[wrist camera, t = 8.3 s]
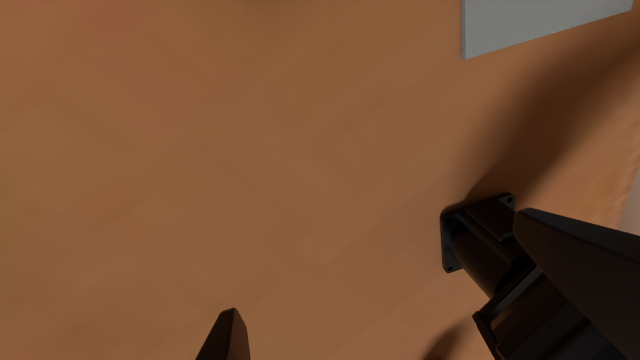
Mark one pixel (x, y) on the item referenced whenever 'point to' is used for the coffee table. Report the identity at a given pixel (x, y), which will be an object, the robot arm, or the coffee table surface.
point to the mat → (526, 20)
